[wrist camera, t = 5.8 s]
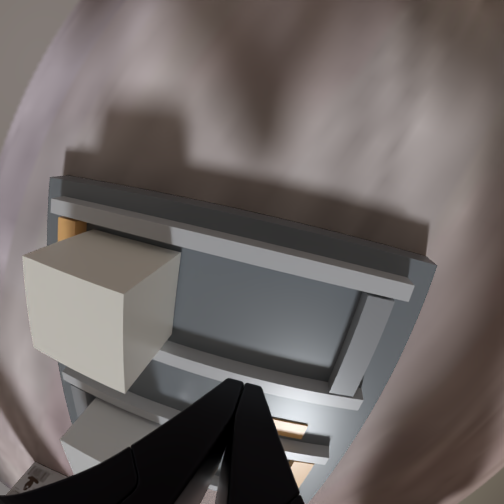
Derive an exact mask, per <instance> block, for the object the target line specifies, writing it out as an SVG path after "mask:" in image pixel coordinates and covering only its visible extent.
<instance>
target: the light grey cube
mask: <svg viewBox="0 0 504 504" xmlns="http://www.w3.org/2000/svg"><path fill="white" fill-rule="evenodd" d="M159 426H161V424H159V423H156V422H154V421H151V420H148V419H146V418H143V417H141V416H138V415H136V414H134V413H131V412H129V411H127V410H124V409H122V408H120V407H117V406H115V405H113V404H111V403H109V402H107V401H104V400H102V399H100V398H98V397H96V398H95V399H94V400H93V402H92V403H91V404H90V405H89V406H88V407H87V408H86V410H85V411H84V412H83V413H82V414H81V415H80V417H79V418H78V419H77V420H76V421H75V422H74V423H73V425H72V426H71V427H70V428H69V429H68V430H67V432H66V433H65V434H64V435H63V436H62V437H61V439H60V441H61V444H62V446H63V449H64V452H65V454H66V457H67V459H68V462H69V464H70V466H71V469H72V471H73V473H74V475H75V474H77V473H79V472H82V471H84V470H86V469H89V468H91V467H93V466H95V465H97V464H99V463H101V462H103V461H105V460H106V459H108V458H110V457H112V456H114V455H115V454H117V453H119V452H120V451H122V450H123V449H125V448H127V447H131V445H132V444H133V443H135V442H136V441H138V440H139V439H141V438H143V437H144V436H146V435H147V434H149V433H150V432H152V431H153V430H155V429H156V428H158V427H159Z"/></svg>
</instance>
